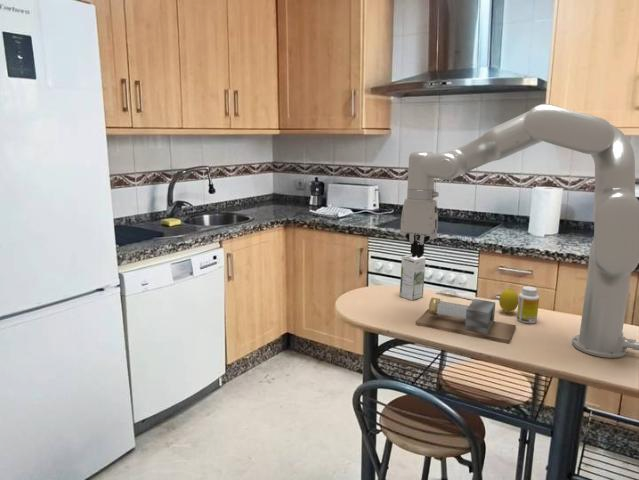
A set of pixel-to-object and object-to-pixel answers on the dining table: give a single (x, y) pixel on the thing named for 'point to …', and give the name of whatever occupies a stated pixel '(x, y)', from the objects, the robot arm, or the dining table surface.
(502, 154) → the robot arm
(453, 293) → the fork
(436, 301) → the shaft
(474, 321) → the bearing stand
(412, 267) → the syrup box
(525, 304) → the supplement bottle
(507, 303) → the lemon
